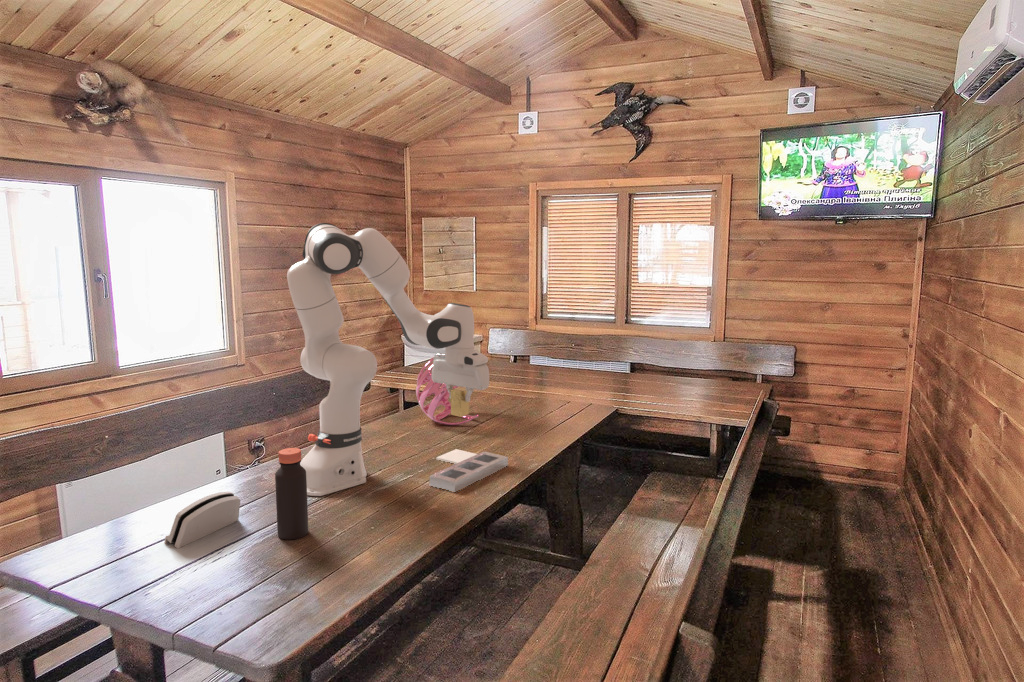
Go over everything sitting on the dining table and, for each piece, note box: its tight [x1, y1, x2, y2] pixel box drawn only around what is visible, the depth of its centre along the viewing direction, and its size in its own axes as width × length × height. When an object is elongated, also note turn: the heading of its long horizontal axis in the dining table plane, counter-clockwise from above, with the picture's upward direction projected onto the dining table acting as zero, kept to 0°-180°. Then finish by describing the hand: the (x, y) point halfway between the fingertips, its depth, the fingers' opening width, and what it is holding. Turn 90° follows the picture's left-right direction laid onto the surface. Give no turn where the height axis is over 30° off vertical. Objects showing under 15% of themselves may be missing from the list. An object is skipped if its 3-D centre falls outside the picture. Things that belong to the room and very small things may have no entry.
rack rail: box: [429, 451, 509, 493], centre depth 189 cm, size 26×9×3 cm, turn 147°
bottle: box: [274, 447, 309, 541], centre depth 149 cm, size 7×7×20 cm
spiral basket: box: [415, 356, 480, 426], centre depth 245 cm, size 28×28×27 cm
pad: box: [435, 448, 478, 465], centre depth 204 cm, size 10×10×1 cm
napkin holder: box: [164, 491, 241, 549], centre depth 150 cm, size 17×5×10 cm, turn 155°
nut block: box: [450, 386, 470, 418], centre depth 201 cm, size 4×4×8 cm
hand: (459, 399), depth 200 cm, fingers closed on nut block, 4 cm apart
